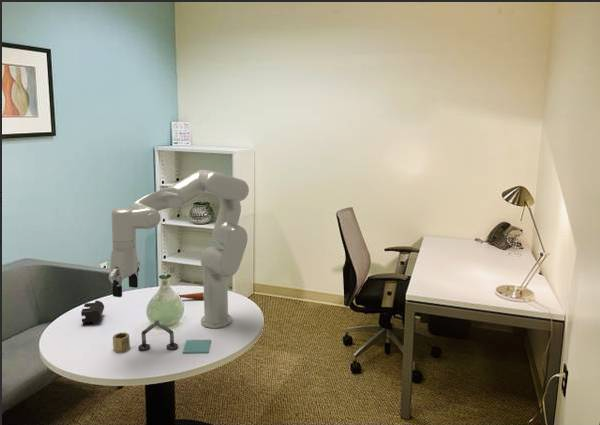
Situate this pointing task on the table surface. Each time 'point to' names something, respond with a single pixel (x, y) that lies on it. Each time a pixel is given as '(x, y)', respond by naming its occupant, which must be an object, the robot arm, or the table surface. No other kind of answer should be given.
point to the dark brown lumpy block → (92, 313)
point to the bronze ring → (121, 342)
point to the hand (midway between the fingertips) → (125, 291)
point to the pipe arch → (172, 345)
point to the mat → (196, 346)
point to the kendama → (193, 296)
